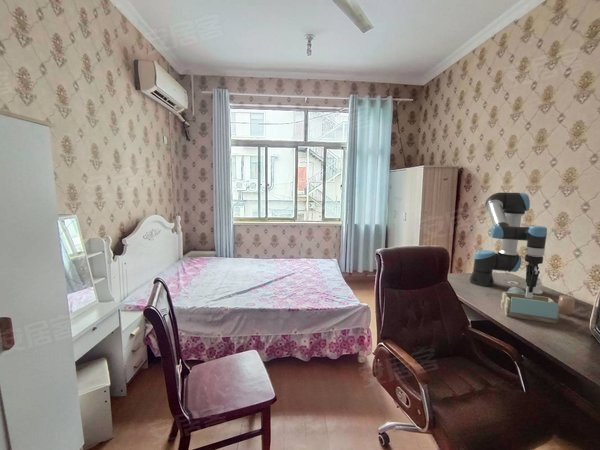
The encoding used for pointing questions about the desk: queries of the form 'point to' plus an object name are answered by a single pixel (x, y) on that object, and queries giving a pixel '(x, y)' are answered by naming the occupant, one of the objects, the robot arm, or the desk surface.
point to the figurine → (538, 287)
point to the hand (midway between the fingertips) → (528, 297)
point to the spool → (516, 290)
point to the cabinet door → (534, 308)
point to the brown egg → (566, 305)
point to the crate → (507, 298)
